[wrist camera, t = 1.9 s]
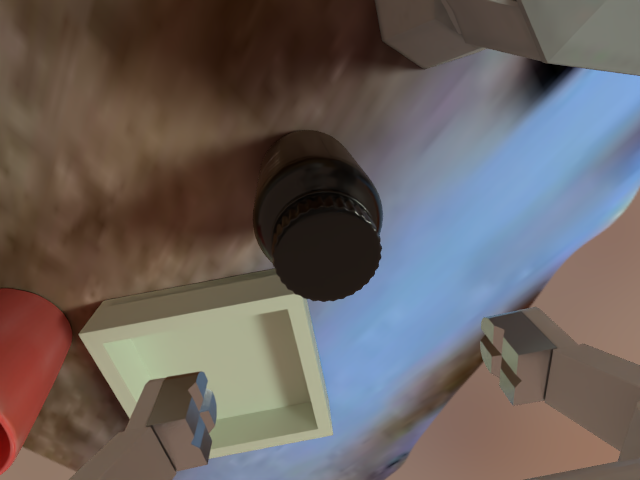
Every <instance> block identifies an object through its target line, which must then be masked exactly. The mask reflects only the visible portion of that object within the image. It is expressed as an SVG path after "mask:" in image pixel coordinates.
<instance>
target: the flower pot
mask: <svg viewBox="0 0 640 480" xmlns="http://www.w3.org/2000/svg"><path fill="white" fill-rule="evenodd" d="M71 342H72V329H71V326H70V324H69V321H68V320H67V318H66V317H65V315H64V314H63V313H62V312H61V311H60V309H58V308H57V307H56V306H55V305H54V304H52V303H51V302H50V301H48V300H46V299H44V298H43V297H41V296H39V295H36V294H33V293H30V292H27V291H21V290H16V289H8V288H3V289H0V475H1V474H2V473H3V472H5V471H6V470H7V469H8V468H9V467H10V466H11V465H12V463H13V462H14V460H15V458H16V457H17V455H18V453H19V451H20V450H21V448H22V446H23V444H24V442H25V440H26V438H27V436H28V434H29V432H30V430H31V428H32V426H33V424H34V422H35V420H36V418H37V416H38V414H39V412H40V410H41V408H42V406H43V404H44V402H45V400H46V398H47V396H48V394H49V392H50V390H51V388H52V386H53V384H54V381H55V379H56V377H57V375H58V373H59V371H60V369H61V366H62V364H63V362H64V360H65V357H66V355H67V353H68V350H69V348H70V346H71Z"/></svg>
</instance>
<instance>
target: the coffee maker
mask: <svg viewBox="0 0 640 480" xmlns="http://www.w3.org/2000/svg"><path fill="white" fill-rule="evenodd" d="M375 5H376V10H377V16H378V21H379V27H380V32H381V38H382V41H383V42H384V43H386V44H387V45H389V46H390V47H392V48H393V49H395V50H396V51H398V52H399V53H401V54H402V55H404V56H405V57H406V58H408V59H409V60H411V61H412V62H414V63H415V64H417V65H418V66H420V67H421V68H423V69H427V68H430V67H434V66H437V65H440V64H443V63H446V62H449V61H452V60H455V59H459V58H462V57H465V56H468V55H471V54H474V53H477V52H480V51H482V50H485V49H492V50H497V51H501V52H505V53H509V54H514V55H518V56H522V57H526V58H530V59H535V60H539V61H543V63H550V64H557V65H564V66H571V67H579V68H586V69H593V70H601V71H608V72H615V73H623V74H630V75H637V76H640V0H375Z"/></svg>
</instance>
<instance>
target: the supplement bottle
mask: <svg viewBox="0 0 640 480" xmlns="http://www.w3.org/2000/svg"><path fill="white" fill-rule="evenodd" d="M382 221H383V211H382V204H381V200H380V197H379V194H378V192H377V190H376V188H375V186H374V185H373V183H372V181H371V180H370V179H369V177H368V176H367V175H366V173H365V172H364V171H363V170H362V168H361V167H360V166H359V165H358V163H357V162H356V161H355V159H354V158H353V157H352V156H351V154H350V153H349V152H348V151H347V149H346V148H345V147H344V146H343V145H342V144H341V143H340V142H339V141H337V140H336V139H335V138H333V137H331V136H330V135H328V134H325V133H322V132H319V131H313V130H302V131H296V132H293V133H290V134H288V135H285V136H284V137H282V138H280V139H279V140H278V141H276V142H275V143H274V144H273V145H272V146H271V147H270V149H269V150H268V151H267V153H266V155H265V156H264V158H263V161H262V163H261V167H260V171H259V177H258V184H257V190H256V197H255V203H254V210H253V227H254V233H255V237H256V240H257V242H258V244H259V246H260V248H261V250H262V251H263V253H264V254H265V256H266V257H267V258H268V259H269V260H270V261H271V262H272V263H273V265H274V267H275V268H276V274H277V275H278V276H279V277H280V281H281V282H282V283H283V284H285V285H286V287H287V289H288V290H291V291H293V292H294V294H295V295H300V296H301V297H303V298H304V299H311V300H313V301H318V300H319V301H322V302H325V301H328V300H329V301H335V300H337V299H344V298H345V297H346V296H349V295H353V294H354V293H355V292H356V291H358V290H361V289H362V287H363V286H364V285H365V284H367V283H368V282H369V280H370V278H372V277H373V276H374V274H375V270H376V269H377V268H378V267H379V261H380V259H381V254H380V252H381V249H382V246H381V244H380V236H379V235H380V232H381V228H382Z"/></svg>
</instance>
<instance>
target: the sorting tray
mask: <svg viewBox="0 0 640 480" xmlns="http://www.w3.org/2000/svg"><path fill="white" fill-rule="evenodd" d="M78 335H79V336H80V338H81V340H82V341H83V343H84V345H85V346H86V348H87V349H88V351H89V353H90V354H91V356H92V358H93V359H94V361H95V363H96V364H97V366H98V368H99V369H100V371H101V372H102V374H103V376H104V377H105V379H106V381H107V382H108V384H109V386H110V387H111V389H112V390H113V392H114V394H115V395H116V397H117V399H118V400H119V402H120V404H121V405H122V407H123V409H124V410H125V412H126V413H127V415H128V417H129V418H131V415H132V413H133V411H134V409H135V406H136V404H137V402H138V400H139V397H140V395H141V393H142V391H143V388H144V386H145V384H146V383H147V382H148V381H149V380H153V379H159V378H166V377H169V376H175V375H181V374H187V373H193V372H199V371H202V372H204V373H205V375H206V377H207V379H208V383H207V387H206V388H207V389H209V390H211V391H212V392H213V394H214V396H215V400H216V405H217V418H216V424H215V427H214V428H213V429H212V430H211V432H210V433H209V435H210V437H211V439H212V445H211V450H210V455H209V459H210V458H215V457H221V456H226V455H231V454H236V453H242V452H247V451H252V450H257V449H263V448H268V447H273V446H278V445H283V444H289V443H294V442H299V441H304V440H310V439H315V438H320V437H325V436H330V435H333V430H332V422H331V415H330V407H329V400H328V395H327V390H326V386H325V381H324V376H323V372H322V367H321V363H320V358H319V354H318V349H317V345H316V340H315V335H314V331H313V326H312V322H311V317H310V313H309V308H308V304H307V299H304V298H303V297H301V296H300V295H295V294H294V292H293V291H291V290H288V289H287V287H286V285H285V284H283V283H282V282H281V281H280V277H279V276H278V275H277V274H276V269H270V270H265V271H260V272H254V273H249V274H243V275H238V276H233V277H227V278H222V279H217V280H211V281H206V282H201V283H195V284H190V285H185V286H179V287H174V288H168V289H163V290H158V291H152V292H147V293H142V294H136V295H131V296H126V297H120V298H115V299H110V300H104V301H103V302H102V303H101V305H100V306H99V307H98V309H97V310H96V311H95V313H94V314H93V315H92V317H91V318H90V319H89V321H88V322H87V323H86V325H85V326H84V327H83V329H82V330H81V331H80V333H79V334H78Z"/></svg>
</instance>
